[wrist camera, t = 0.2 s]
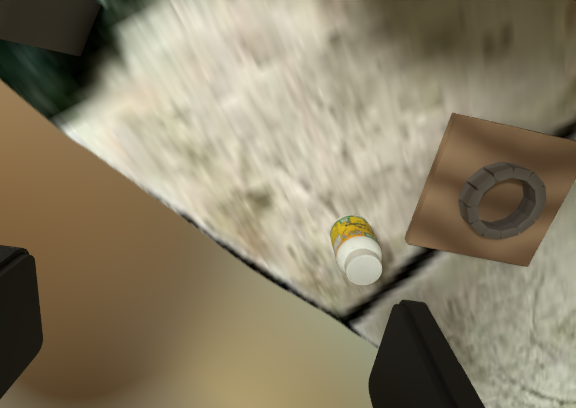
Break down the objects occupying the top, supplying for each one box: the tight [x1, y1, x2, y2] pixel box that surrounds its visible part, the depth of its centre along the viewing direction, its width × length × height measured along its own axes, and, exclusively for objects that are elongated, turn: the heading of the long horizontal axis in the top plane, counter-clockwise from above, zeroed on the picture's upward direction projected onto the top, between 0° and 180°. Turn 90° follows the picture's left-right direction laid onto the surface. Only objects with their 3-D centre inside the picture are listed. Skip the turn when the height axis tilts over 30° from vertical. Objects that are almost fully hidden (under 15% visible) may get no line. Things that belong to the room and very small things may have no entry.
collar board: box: [405, 113, 576, 267], centre depth 46 cm, size 17×17×4 cm
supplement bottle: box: [330, 214, 382, 286], centre depth 45 cm, size 5×5×10 cm
